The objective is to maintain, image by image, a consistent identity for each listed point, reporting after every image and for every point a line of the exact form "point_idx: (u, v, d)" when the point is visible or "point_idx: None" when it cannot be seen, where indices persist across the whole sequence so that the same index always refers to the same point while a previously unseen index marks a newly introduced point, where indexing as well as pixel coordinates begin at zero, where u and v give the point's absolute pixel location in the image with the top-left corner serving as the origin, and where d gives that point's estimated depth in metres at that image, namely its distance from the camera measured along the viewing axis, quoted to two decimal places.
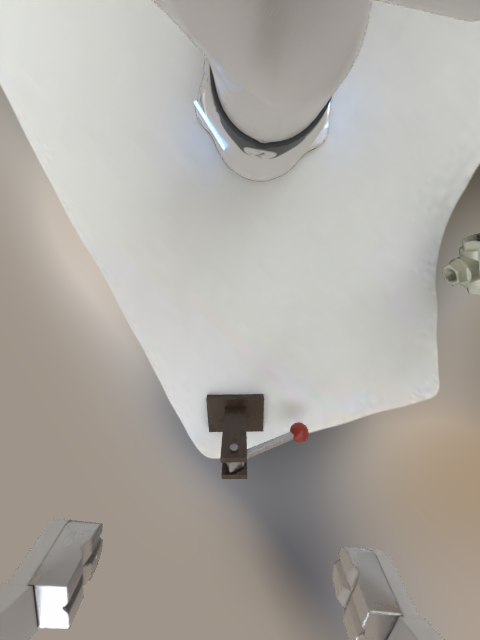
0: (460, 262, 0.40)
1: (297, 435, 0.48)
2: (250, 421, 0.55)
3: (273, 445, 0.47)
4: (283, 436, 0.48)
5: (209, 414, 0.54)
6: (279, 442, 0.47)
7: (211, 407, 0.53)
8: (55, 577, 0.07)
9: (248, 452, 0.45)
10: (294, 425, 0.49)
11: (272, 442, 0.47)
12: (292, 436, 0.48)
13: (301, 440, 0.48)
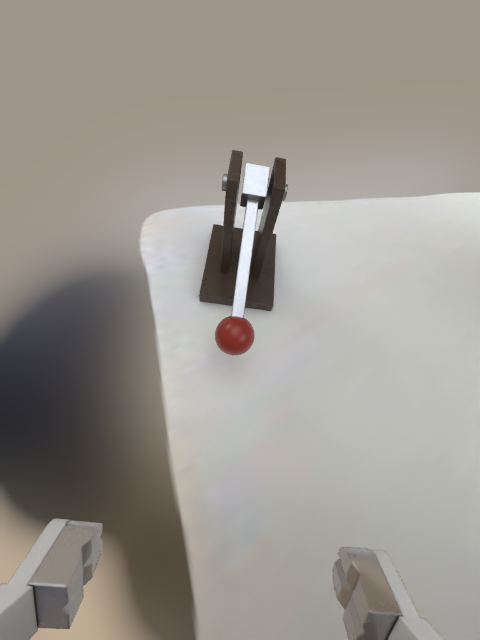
0: None
1: (246, 323, 0.22)
2: (226, 279, 0.31)
3: (244, 267, 0.23)
4: None
5: None
6: (243, 282, 0.23)
7: None
8: (55, 577, 0.07)
9: None
10: None
11: (249, 269, 0.23)
12: (242, 314, 0.23)
13: (233, 327, 0.21)
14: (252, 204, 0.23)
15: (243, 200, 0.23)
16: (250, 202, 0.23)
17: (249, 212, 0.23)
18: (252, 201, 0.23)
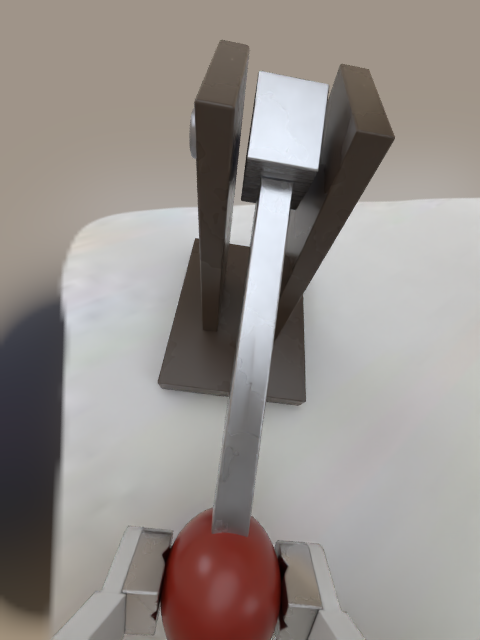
0: None
1: (257, 574, 0.07)
2: (213, 345, 0.16)
3: (253, 377, 0.08)
4: None
5: None
6: (249, 424, 0.08)
7: None
8: (144, 585, 0.07)
9: (288, 222, 0.08)
10: None
11: (267, 379, 0.08)
12: (245, 524, 0.07)
13: (215, 613, 0.06)
14: (275, 193, 0.08)
15: (249, 183, 0.09)
16: (269, 188, 0.08)
17: (267, 216, 0.08)
18: (275, 185, 0.08)
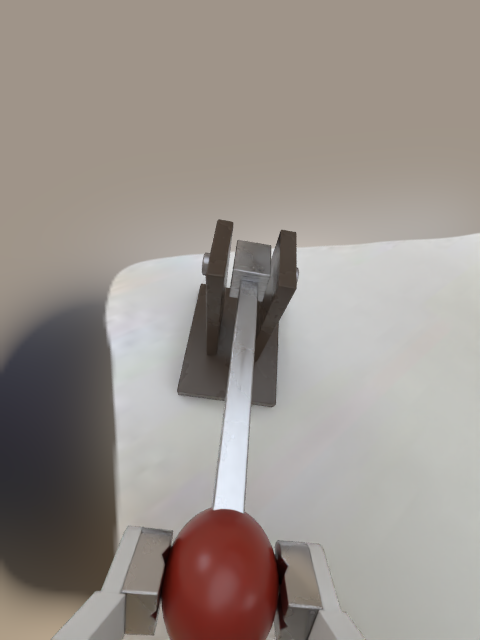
0: None
1: (253, 534, 0.08)
2: (213, 365, 0.24)
3: (241, 382, 0.11)
4: None
5: None
6: (240, 414, 0.10)
7: None
8: (144, 585, 0.07)
9: (257, 301, 0.14)
10: None
11: (251, 387, 0.11)
12: (241, 500, 0.09)
13: (219, 556, 0.07)
14: (249, 287, 0.15)
15: (234, 284, 0.15)
16: (245, 285, 0.15)
17: (245, 296, 0.14)
18: (249, 283, 0.15)
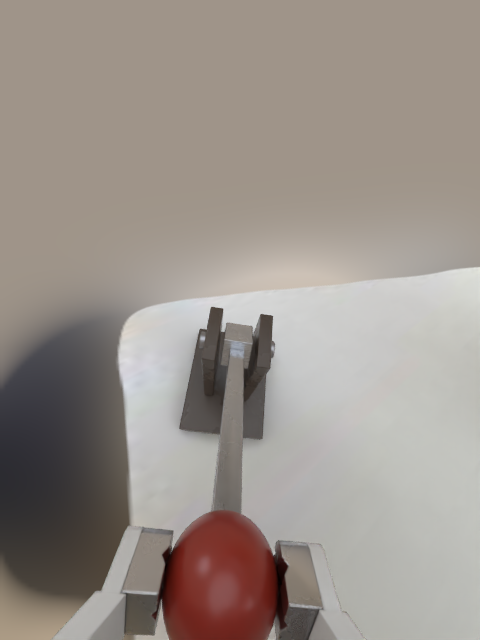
0: None
1: (250, 521, 0.09)
2: (210, 404, 0.28)
3: (234, 415, 0.13)
4: None
5: None
6: (233, 438, 0.12)
7: None
8: (144, 585, 0.07)
9: (243, 362, 0.18)
10: None
11: (242, 420, 0.13)
12: (237, 504, 0.10)
13: (221, 529, 0.08)
14: (236, 353, 0.19)
15: (225, 353, 0.19)
16: (233, 351, 0.19)
17: (234, 358, 0.18)
18: (236, 350, 0.19)
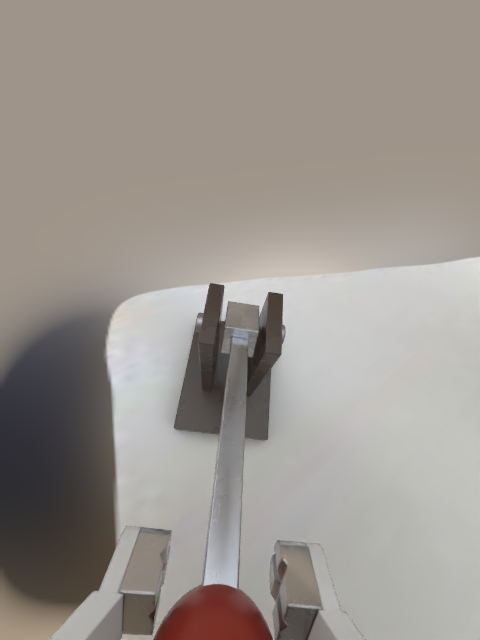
0: None
1: (249, 613, 0.07)
2: (209, 401, 0.25)
3: (233, 436, 0.11)
4: None
5: None
6: (232, 470, 0.10)
7: None
8: (142, 585, 0.07)
9: (247, 355, 0.15)
10: None
11: (243, 441, 0.11)
12: (234, 572, 0.08)
13: None
14: (239, 343, 0.16)
15: (226, 341, 0.16)
16: (236, 341, 0.16)
17: (236, 351, 0.15)
18: (239, 339, 0.16)
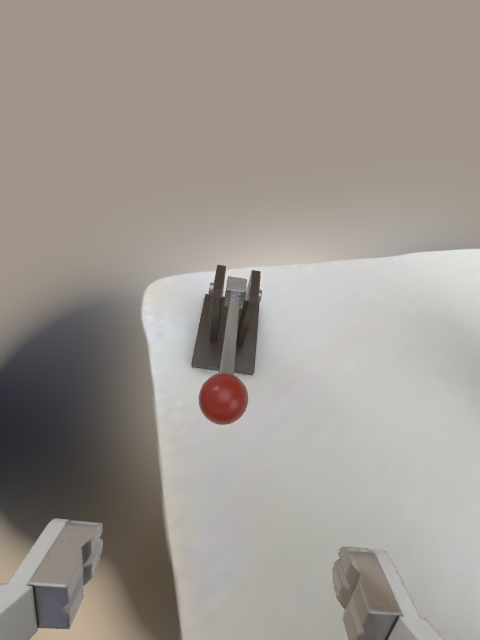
0: None
1: None
2: (214, 348, 0.37)
3: (231, 335, 0.23)
4: None
5: None
6: (231, 346, 0.22)
7: None
8: (55, 577, 0.07)
9: (239, 304, 0.27)
10: None
11: (236, 338, 0.23)
12: (231, 373, 0.20)
13: (223, 377, 0.18)
14: (234, 298, 0.27)
15: (227, 298, 0.28)
16: (232, 297, 0.28)
17: (232, 302, 0.27)
18: (234, 296, 0.28)
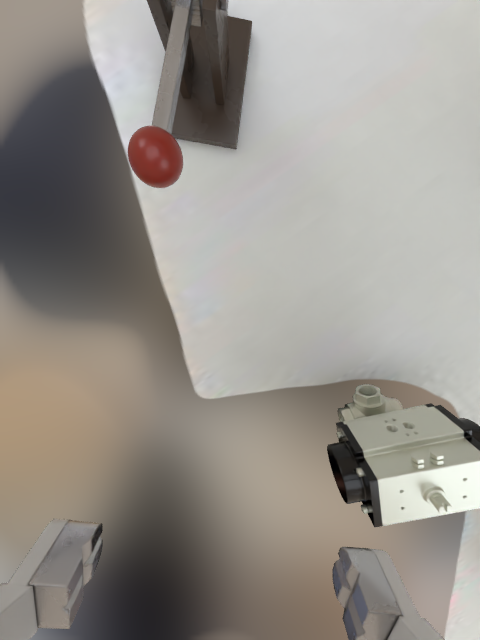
0: (381, 397, 0.40)
1: (167, 131, 0.16)
2: (188, 109, 0.30)
3: (170, 71, 0.18)
4: (173, 113, 0.18)
5: None
6: (168, 89, 0.17)
7: (230, 26, 0.28)
8: (55, 577, 0.07)
9: (189, 15, 0.18)
10: None
11: (178, 77, 0.18)
12: (165, 127, 0.17)
13: (147, 129, 0.16)
14: (183, 0, 0.18)
15: (173, 2, 0.19)
16: None
17: (178, 9, 0.18)
18: None
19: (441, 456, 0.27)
